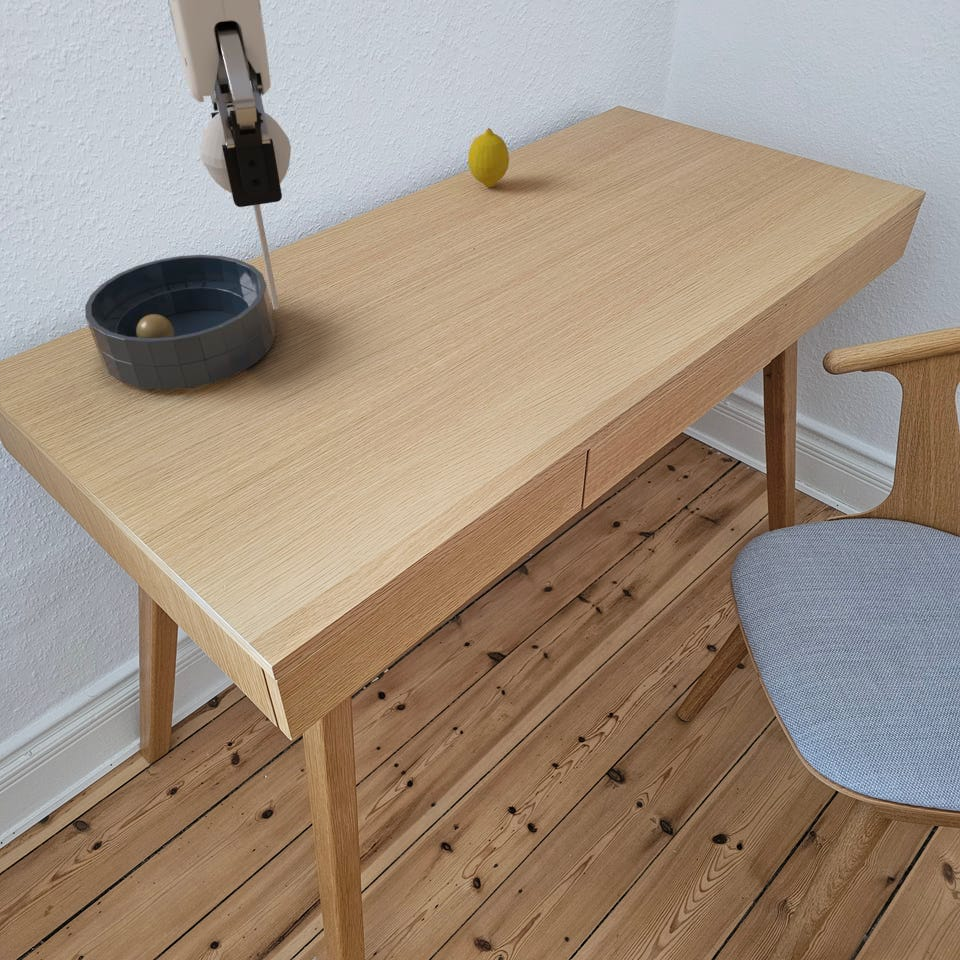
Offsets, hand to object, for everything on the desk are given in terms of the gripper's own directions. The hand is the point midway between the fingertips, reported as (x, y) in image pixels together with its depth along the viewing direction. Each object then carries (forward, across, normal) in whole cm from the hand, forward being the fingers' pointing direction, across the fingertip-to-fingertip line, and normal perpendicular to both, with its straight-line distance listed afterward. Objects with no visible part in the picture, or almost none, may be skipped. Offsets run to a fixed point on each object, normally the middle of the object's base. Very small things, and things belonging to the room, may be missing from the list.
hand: (251, 182), depth 60 cm
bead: (+21, -20, -11) cm, 31 cm away
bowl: (+23, -20, -8) cm, 32 cm away
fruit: (+23, -48, +35) cm, 63 cm away
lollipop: (+10, 0, 0) cm, 10 cm away
